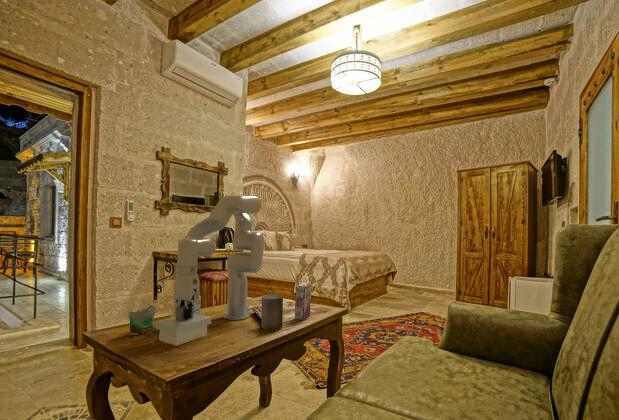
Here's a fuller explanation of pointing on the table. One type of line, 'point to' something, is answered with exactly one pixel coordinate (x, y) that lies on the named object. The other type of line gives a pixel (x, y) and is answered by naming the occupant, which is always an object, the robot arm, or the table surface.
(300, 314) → the candy bar box
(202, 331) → the tub
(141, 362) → the table surface
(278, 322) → the pillar candle
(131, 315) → the food container
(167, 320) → the lid
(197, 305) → the light bulb box
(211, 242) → the robot arm
